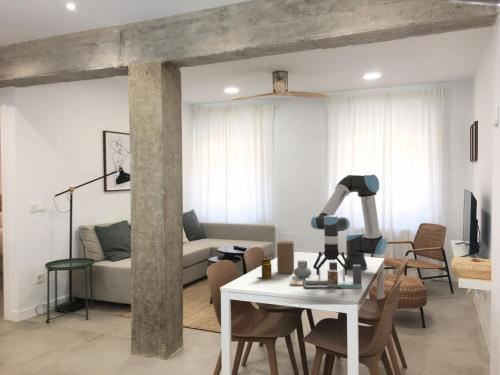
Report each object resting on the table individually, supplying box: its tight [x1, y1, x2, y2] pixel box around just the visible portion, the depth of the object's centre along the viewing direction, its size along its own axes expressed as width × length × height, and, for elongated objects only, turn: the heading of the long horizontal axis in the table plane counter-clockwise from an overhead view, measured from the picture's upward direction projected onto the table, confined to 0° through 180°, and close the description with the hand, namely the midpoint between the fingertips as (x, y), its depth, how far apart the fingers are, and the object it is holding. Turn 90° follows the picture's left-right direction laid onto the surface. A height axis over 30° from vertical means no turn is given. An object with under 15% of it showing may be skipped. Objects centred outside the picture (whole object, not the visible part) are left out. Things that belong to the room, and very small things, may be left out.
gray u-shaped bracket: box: [304, 261, 338, 283], centre depth 243 cm, size 18×6×12 cm, turn 86°
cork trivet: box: [290, 280, 304, 287], centre depth 240 cm, size 7×7×1 cm
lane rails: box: [302, 278, 342, 290], centre depth 238 cm, size 20×18×1 cm
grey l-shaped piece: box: [327, 265, 363, 289], centre depth 233 cm, size 18×6×12 cm, turn 86°
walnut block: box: [327, 269, 339, 284], centre depth 233 cm, size 5×5×7 cm
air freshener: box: [293, 259, 312, 279], centre depth 258 cm, size 11×8×10 cm
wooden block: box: [276, 240, 295, 275], centre depth 271 cm, size 10×10×20 cm
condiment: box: [256, 257, 275, 281], centre depth 256 cm, size 7×8×12 cm
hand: (331, 281), depth 233 cm, fingers open, 13 cm apart
